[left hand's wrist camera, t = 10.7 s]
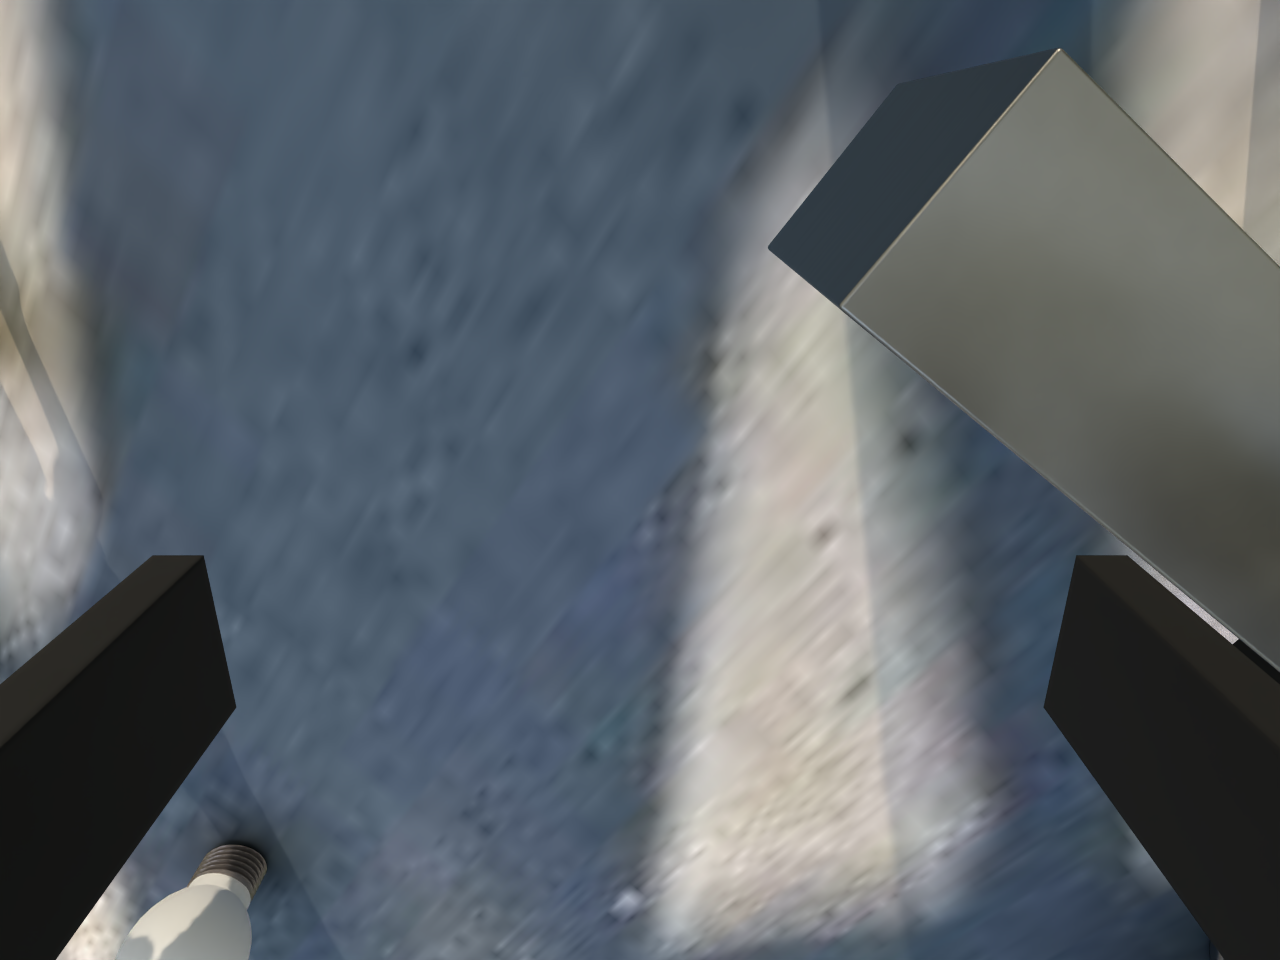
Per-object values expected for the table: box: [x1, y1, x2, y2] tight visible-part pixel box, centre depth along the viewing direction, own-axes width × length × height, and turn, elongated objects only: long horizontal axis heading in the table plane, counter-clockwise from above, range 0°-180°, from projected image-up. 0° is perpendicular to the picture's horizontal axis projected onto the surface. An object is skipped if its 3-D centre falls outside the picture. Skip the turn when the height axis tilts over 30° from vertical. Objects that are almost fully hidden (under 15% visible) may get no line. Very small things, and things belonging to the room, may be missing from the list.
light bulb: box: [115, 845, 267, 960], centre depth 49 cm, size 7×7×11 cm
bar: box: [768, 48, 1280, 672], centre depth 20 cm, size 24×5×8 cm, turn 53°
